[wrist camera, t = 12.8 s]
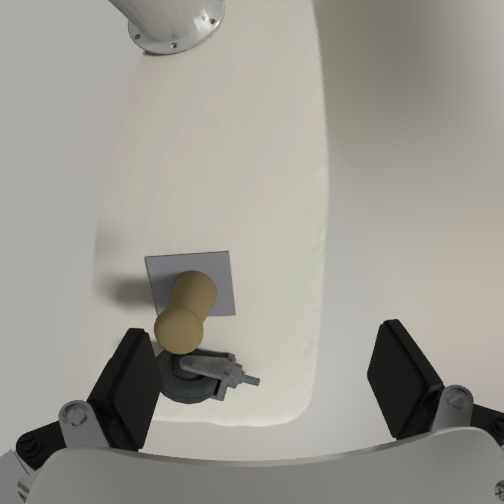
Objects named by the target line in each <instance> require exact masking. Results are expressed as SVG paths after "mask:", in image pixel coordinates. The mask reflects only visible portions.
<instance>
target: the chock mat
mask: <svg viewBox="0 0 504 504" xmlns="http://www.w3.org/2000/svg"><path fill="white" fill-rule="evenodd" d="M146 262H147V267H148V272H149V277H150V282H151V286H152V291H153V295H154V300H155V304H156V308H157V312H158V315H159V314H160V313H161V312H162V311H163V310H165V309H167V305H168V301H169V298H170V294H171V291H172V287H173V284H174V282H175V279H176V278H177V277H178V276H179V275H180V274H182V273H184V272H186V271H192V270H193V271H200V272H202V273H204V274H206V275H208V276H209V277H210V278H211V279H212V280H213V282H214V283H215V285H216V288H217V299H216V301H215V303H214V305H213V307H212V308H211V310H210V312H209V314H208V315H207V316H230V315H236V313H235V304H234V295H233V286H232V277H231V267H230V258H229V251H224V252H209V253H195V254H180V255H165V256H151V257H146Z"/></svg>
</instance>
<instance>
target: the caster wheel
mask: <svg viewBox="0 0 504 504" xmlns="http://www.w3.org/2000/svg"><path fill="white" fill-rule="evenodd" d="M234 357H235V355H233V354H230V353H229V356H228V358H222V357H209V356H207V355H206V354H205V353H203V352H200V351H198V350H196V349H195V350H194V351H192V352H189V353H186V354H174V353H171V352H169V351H167V350H164V351H163V352H162V353H161V354H159V355H158V356H157V358H156V362H157V365H158V369H159V372H160V375H161V378H162V388H161V391H160V392H161V393H162V394H163V395H164V396H166V397H168V398H169V399H171V400H173V401H175V402H179V403H184V404H194V403H200V402H202V401H204V400H206V399H208V398H212V399H216V400H220V401H224V398H225V394H226V390H227V387H231V388H234V389H235V388H236V387H237V385H238V383H239V384H241V383H242V382H244V383H248V384H252V385H256V386H258V385H259V383H260V379H259V378H255V377H251V376H248V375H245V373H244V372H242V365H240V364H236V363H235V362H236V358H234Z"/></svg>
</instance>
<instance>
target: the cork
mask: <svg viewBox="0 0 504 504" xmlns="http://www.w3.org/2000/svg"><path fill="white" fill-rule="evenodd" d="M216 299H217V288H216V285H215V283H214V282H213V280H212V279H211V278H210V277H209V276H208V275H206V274H204V273H202V272H200V271H193V270H192V271H186V272H184V273H182V274H180V275H179V276H178V277H177V278H176V279H175V282H174V284H173V287H172V291H171V294H170V298H169V301H168V305H167V309H165V310H163V311H162V312H161V313H160V314H159V315H158V317H157V319H156V321H155V324H154V334H155V337H156V339H157V341H158V343H159V344H160V345H161V346H162V347H163V348H164V349H165V350H167V351H169V352H171V353H174V354H186V353H189V352H192V351H194V350H195V349H196V348H197V347H198V346H199V345H200V343H201V341H202V338H203V325H202V324H203V322H204V321H205V319H206V317H207V315H208V314H209V312H210V310H211V308H212V307H213V305H214V303H215V301H216Z"/></svg>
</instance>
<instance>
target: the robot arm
mask: <svg viewBox="0 0 504 504" xmlns="http://www.w3.org/2000/svg"><path fill="white" fill-rule="evenodd" d="M109 1H110V2H111V3H112V4H113V5H114V6H115V7H116V8H117V9H119V10H120V11H121V12H122V13H123V14H124V15H125V16H126V17H127V18H128V19H129V21H128V31H129V34H130V37H131V38H132V40H133V41H134V43H136V44H137V45H138V46H139V47H140V48H142V49H143V50H145V51H148V52H151V53H156V54H173V53H179V52H182V51H185V50H188V49H190V48H193V47H195V46H197V45H198V44H200V43H202V42H203V41H205V40H206V39H207V38H208V37H210V36H211V35H212V34H213V33H214V32H215V30H216V29H217V28H218V27H219V25H220V23H221V22H222V19H223V16H224V10H225V6H224V0H109ZM212 23H214V24H212ZM175 46H177V47H176V48H174V47H175ZM367 378H368V381H369V383H370V385H371V387H372V390H373V392H374V395H375V397H376V399H377V402H378V404H379V406H380V409H381V411H382V414H383V416H384V418H385V421H386V423H387V425H388V428H389V431H390V433H391V435H392V437H393V438H396V440H397V441H394V442H390V443H386V444H382V445H377V446H373V447H369V448H365V449H359V450H354V451H349V452H344V453H337V454H331V455H323V456H317V457H308V458H298V459H285V460H268V461H216V460H199V459H187V458H177V457H169V456H160V455H153V454H146V453H140V452H138V450H139V449H142V448H143V446H144V443H145V439H146V436H147V433H148V429H149V426H150V422H151V419H152V416H153V413H154V410H155V407H156V403H157V400H158V397H159V394H160V391H161V388H162V378H161V375H160V372H159V369H158V365H157V362H156V358H155V355H154V351H153V348H152V344H151V341H150V337H149V334H148V333H147V332H145V331H144V329H141V328H129V329H128V331H127V332H126V334H125V336H124V337H123V339H122V341H121V343H120V344H119V346H118V348H117V349H116V351H115V353H114V355H113V356H112V358H110V360H109V361H108V363H107V364H106V366H105V368H104V370H103V372H102V373H101V375H100V377H99V379H98V381H97V382H96V384H95V386H94V388H93V390H92V392H91V393H90V395H89V397H88V399H87V401H86V402H85V401H82V400H74V401H70V402H69V403H66V404H65V405H64V406H63V407H62V408H61V410H60V411H59V415H58V417H59V421H56V422H53V423H51V424H49V425H46V426H43V427H41V428H38V429H35V430H33V431H30V432H27V433H25V434H23V435H22V436H21V437H20V438H19V439H18V441H17V443H16V450H15V451H12V449H11V450H10V451H8V452H7V453H5V454H4V455H3V456H1V457H0V504H504V413H502V412H499V411H495V410H492V409H489V408H485V407H483V406H479V405H476V404H473V403H474V402H473V401H474V400H473V396H472V393H471V392H470V391H469V390H468V389H467V388H465V387H463V386H461V385H450V386H448V387H446V388H445V386H444V385H443V382H442V380H441V379H440V377H439V376H438V374H437V373H436V371H435V370H434V368H433V367H432V366H431V364H430V362H429V361H428V360H427V358H426V357H425V355H424V354H423V353H422V351H421V350H420V348H419V347H418V345H417V344H416V343H415V341H414V340H413V339H412V337H411V336H410V334H409V333H408V332H407V330H406V329H405V328H404V326H403V325H402V324H401V322H400V321H399V320H398V319H394V320H386V321H384V323H383V324H381V325H380V327H379V330H378V335H377V338H376V342H375V346H374V350H373V354H372V357H371V361H370V364H369V368H368V371H367Z"/></svg>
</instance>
